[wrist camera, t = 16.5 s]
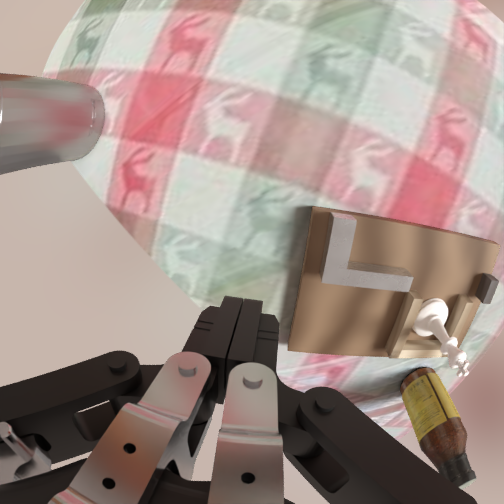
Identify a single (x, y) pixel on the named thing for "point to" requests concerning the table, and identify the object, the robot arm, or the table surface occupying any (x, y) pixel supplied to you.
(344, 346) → the socket board
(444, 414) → the sauce bottle
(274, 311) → the table surface
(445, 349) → the chess piece
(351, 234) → the keeper bolt
